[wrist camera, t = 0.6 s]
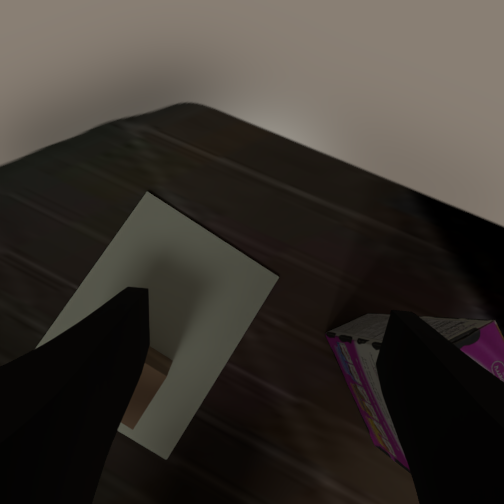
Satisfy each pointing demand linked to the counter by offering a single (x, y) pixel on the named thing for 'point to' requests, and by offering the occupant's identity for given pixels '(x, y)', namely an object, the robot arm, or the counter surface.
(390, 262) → the counter surface
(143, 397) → the walnut block
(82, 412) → the robot arm
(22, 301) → the counter surface
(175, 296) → the cream board
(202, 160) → the counter surface
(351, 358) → the candy bar box
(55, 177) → the counter surface
